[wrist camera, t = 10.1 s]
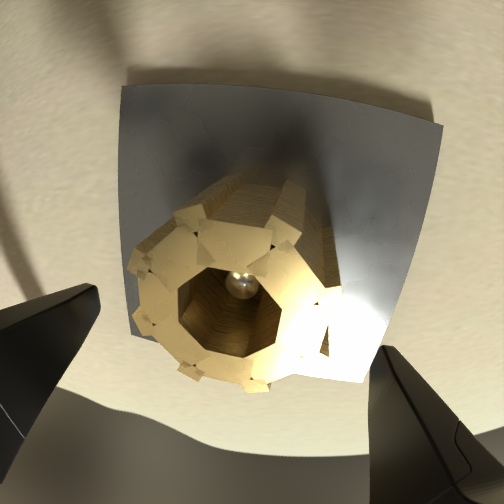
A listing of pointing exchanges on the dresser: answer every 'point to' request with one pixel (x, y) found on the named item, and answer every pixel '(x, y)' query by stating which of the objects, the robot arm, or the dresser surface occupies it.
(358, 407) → the dresser surface
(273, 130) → the carrier plate
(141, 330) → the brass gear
